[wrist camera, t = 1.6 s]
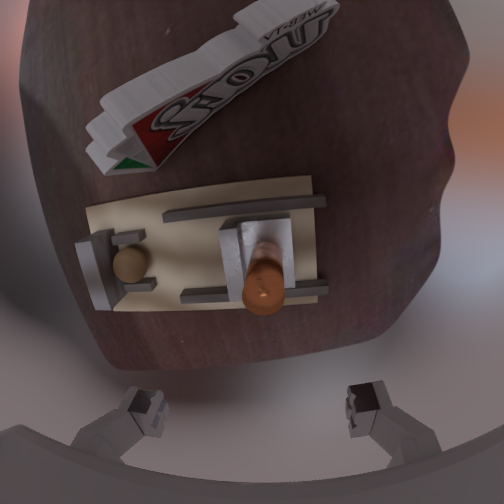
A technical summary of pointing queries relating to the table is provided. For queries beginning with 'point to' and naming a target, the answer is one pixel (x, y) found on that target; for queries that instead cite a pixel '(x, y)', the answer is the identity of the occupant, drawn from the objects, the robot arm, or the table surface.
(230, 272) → the handle
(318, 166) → the table surface
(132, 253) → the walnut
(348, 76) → the table surface
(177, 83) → the decorative sign
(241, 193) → the press bed
